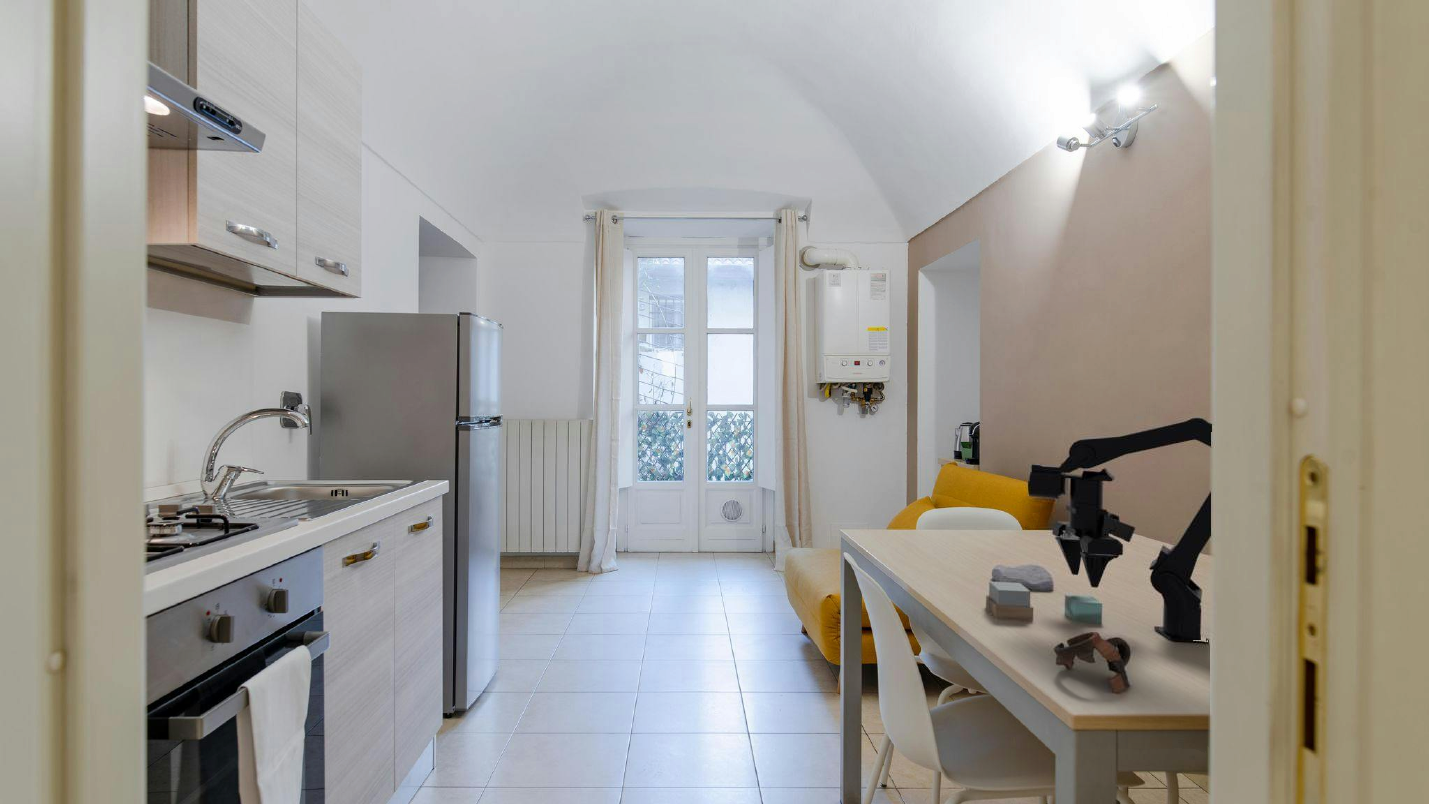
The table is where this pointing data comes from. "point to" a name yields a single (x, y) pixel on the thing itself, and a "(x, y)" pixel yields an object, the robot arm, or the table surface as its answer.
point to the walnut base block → (1009, 611)
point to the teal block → (1083, 608)
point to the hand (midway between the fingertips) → (1084, 580)
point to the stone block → (1024, 576)
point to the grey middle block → (1009, 594)
